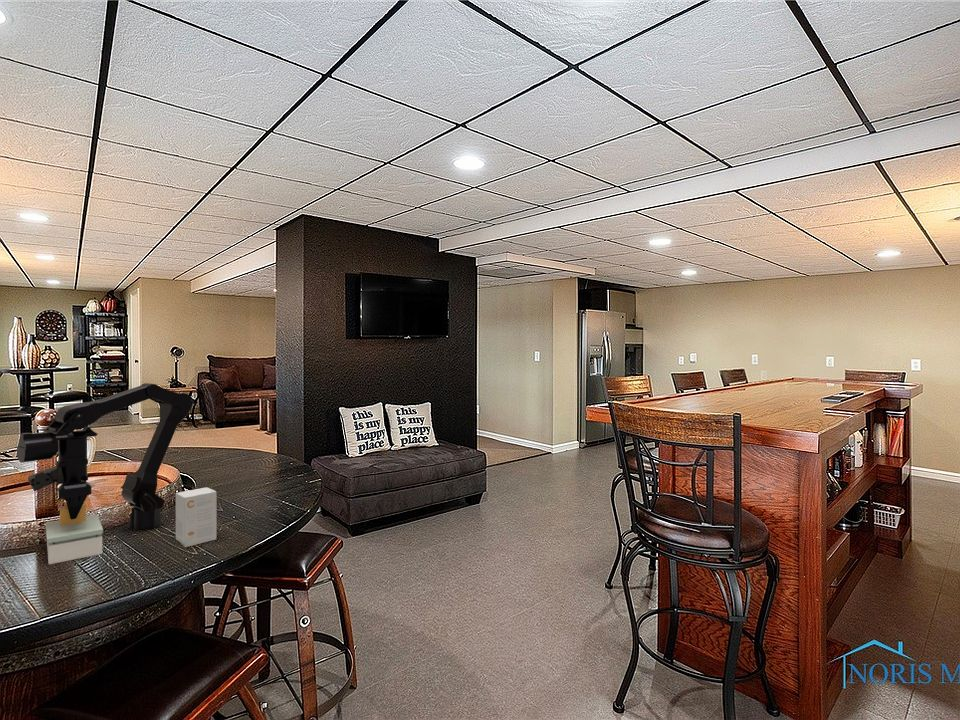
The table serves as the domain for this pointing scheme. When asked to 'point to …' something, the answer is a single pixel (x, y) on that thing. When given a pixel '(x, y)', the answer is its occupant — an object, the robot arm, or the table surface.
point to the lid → (73, 526)
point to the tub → (74, 549)
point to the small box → (196, 516)
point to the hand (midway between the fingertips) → (72, 517)
